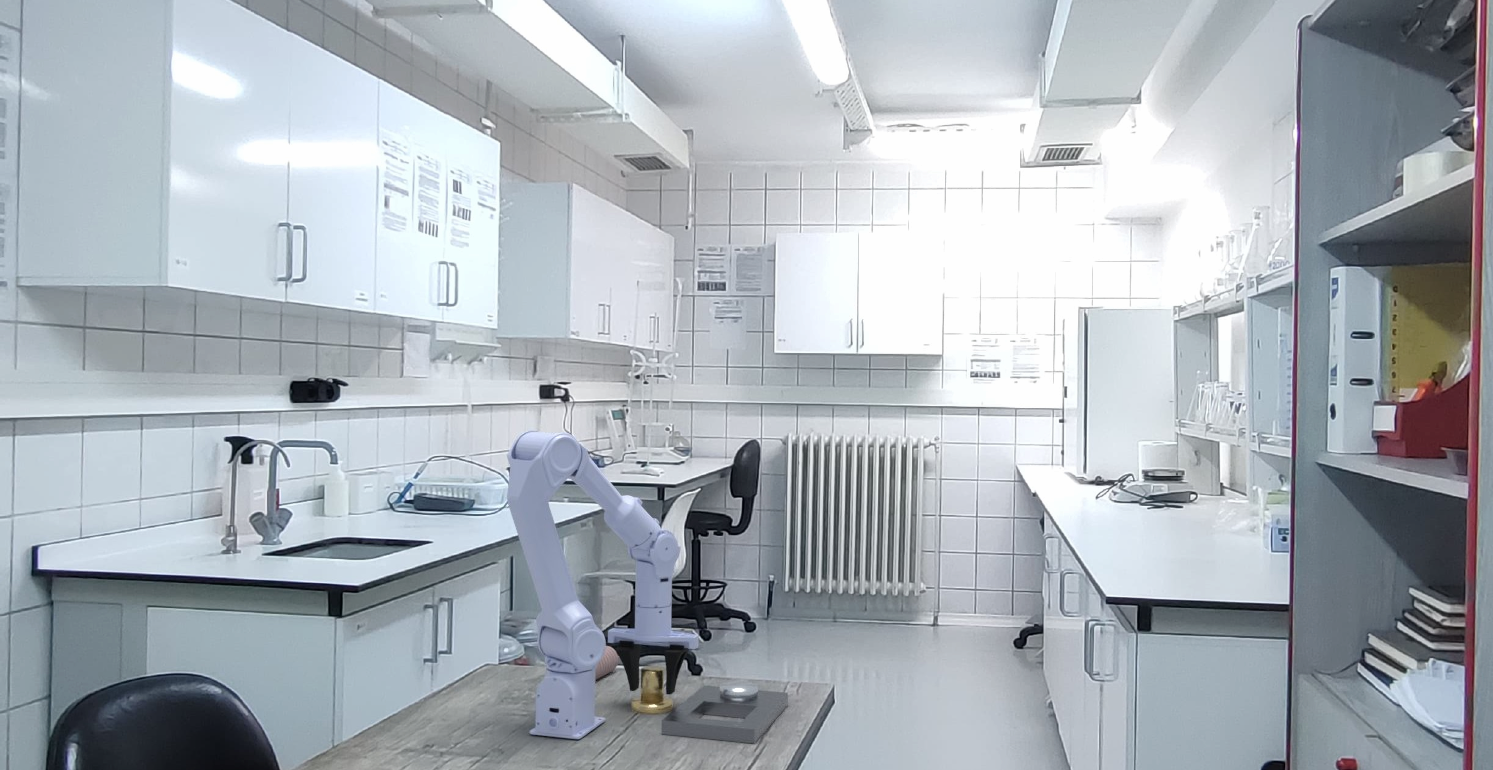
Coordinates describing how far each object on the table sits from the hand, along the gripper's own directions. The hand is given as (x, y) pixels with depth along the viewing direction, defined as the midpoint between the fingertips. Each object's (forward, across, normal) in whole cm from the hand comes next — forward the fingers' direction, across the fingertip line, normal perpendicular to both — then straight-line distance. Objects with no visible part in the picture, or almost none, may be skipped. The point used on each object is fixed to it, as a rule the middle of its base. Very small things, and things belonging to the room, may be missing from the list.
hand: (652, 691), depth 173 cm
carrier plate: (+3, -13, +2) cm, 13 cm away
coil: (+3, +16, -11) cm, 20 cm away
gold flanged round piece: (+3, 0, 0) cm, 3 cm away
